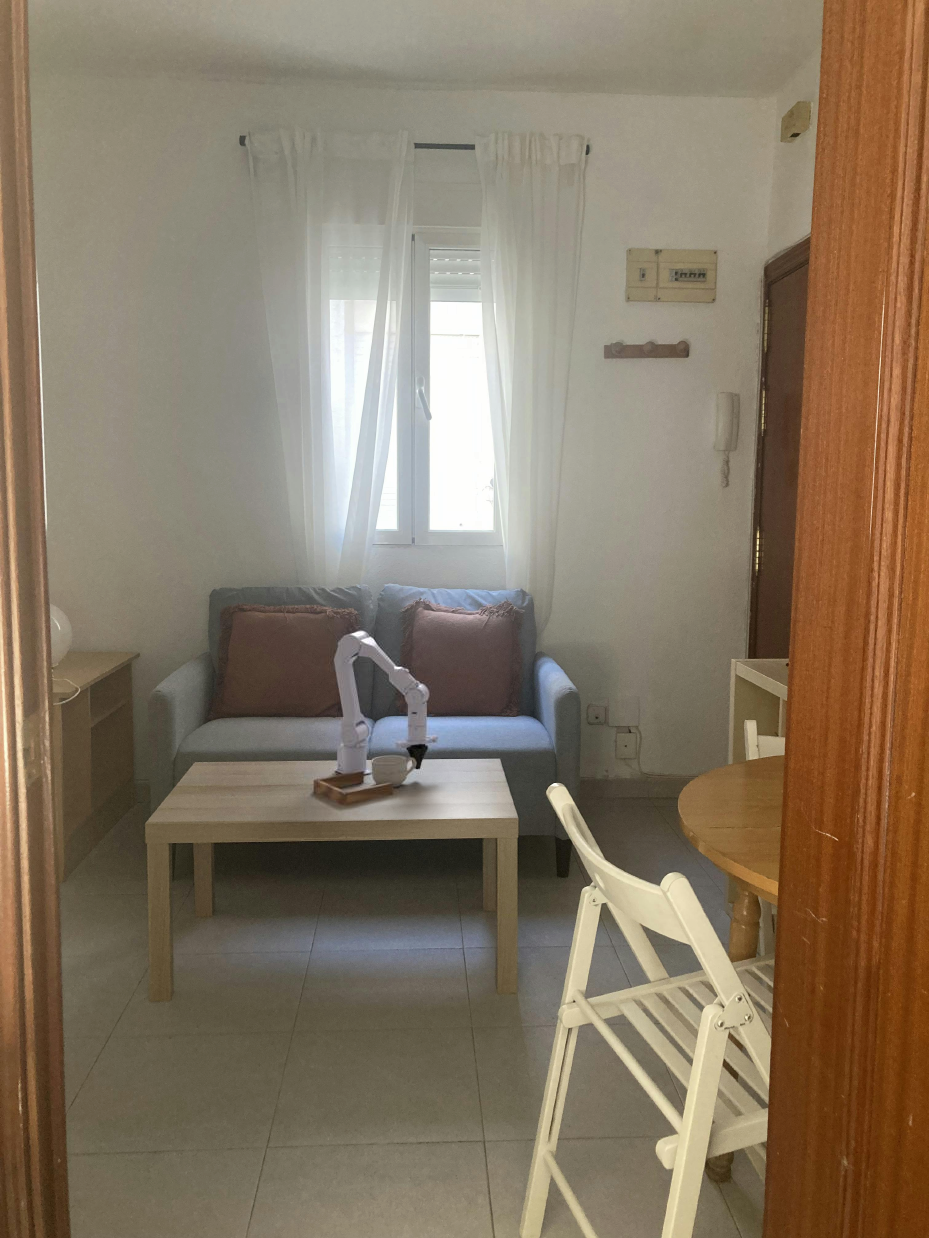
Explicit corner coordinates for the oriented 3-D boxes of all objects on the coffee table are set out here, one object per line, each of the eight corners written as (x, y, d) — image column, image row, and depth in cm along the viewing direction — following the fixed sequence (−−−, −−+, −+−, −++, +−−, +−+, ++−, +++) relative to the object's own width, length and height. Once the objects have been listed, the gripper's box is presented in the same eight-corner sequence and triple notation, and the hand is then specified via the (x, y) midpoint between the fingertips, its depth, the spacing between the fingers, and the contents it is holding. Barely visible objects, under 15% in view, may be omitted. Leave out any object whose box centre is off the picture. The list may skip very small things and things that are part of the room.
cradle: (313, 791, 273) (313, 779, 273) (361, 781, 284) (361, 770, 284) (344, 805, 261) (344, 793, 261) (393, 794, 272) (393, 783, 271)
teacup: (374, 791, 275) (375, 764, 274) (368, 780, 285) (368, 754, 284) (421, 788, 279) (421, 761, 278) (413, 777, 289) (413, 752, 288)
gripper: (405, 730, 277) (405, 775, 279) (444, 724, 287) (443, 767, 288) (391, 726, 283) (391, 770, 284) (429, 719, 292) (429, 762, 294)
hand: (416, 768), depth 287 cm, fingers closed
